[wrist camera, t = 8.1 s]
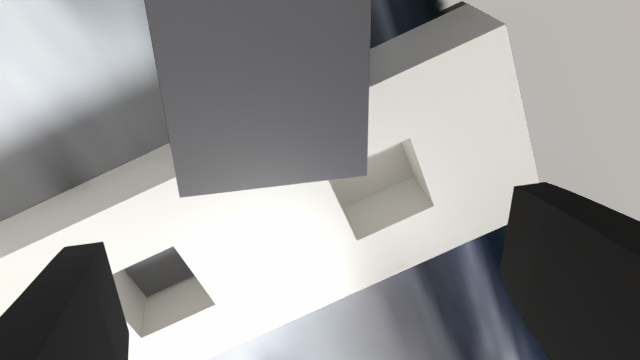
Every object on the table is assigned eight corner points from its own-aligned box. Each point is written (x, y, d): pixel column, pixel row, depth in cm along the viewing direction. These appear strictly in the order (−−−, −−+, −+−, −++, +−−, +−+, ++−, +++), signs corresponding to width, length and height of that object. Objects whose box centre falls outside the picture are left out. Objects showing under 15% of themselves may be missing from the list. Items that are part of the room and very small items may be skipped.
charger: (311, 72, 18) (366, 175, 12) (185, 83, 17) (179, 197, 11) (305, -102, 15) (373, -76, 9) (157, -96, 15) (132, -66, 9)
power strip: (503, 166, 22) (554, 217, 19) (96, 351, 22) (80, 429, 19) (462, 1, 18) (516, 29, 15) (-25, 227, 19) (-68, 300, 16)
